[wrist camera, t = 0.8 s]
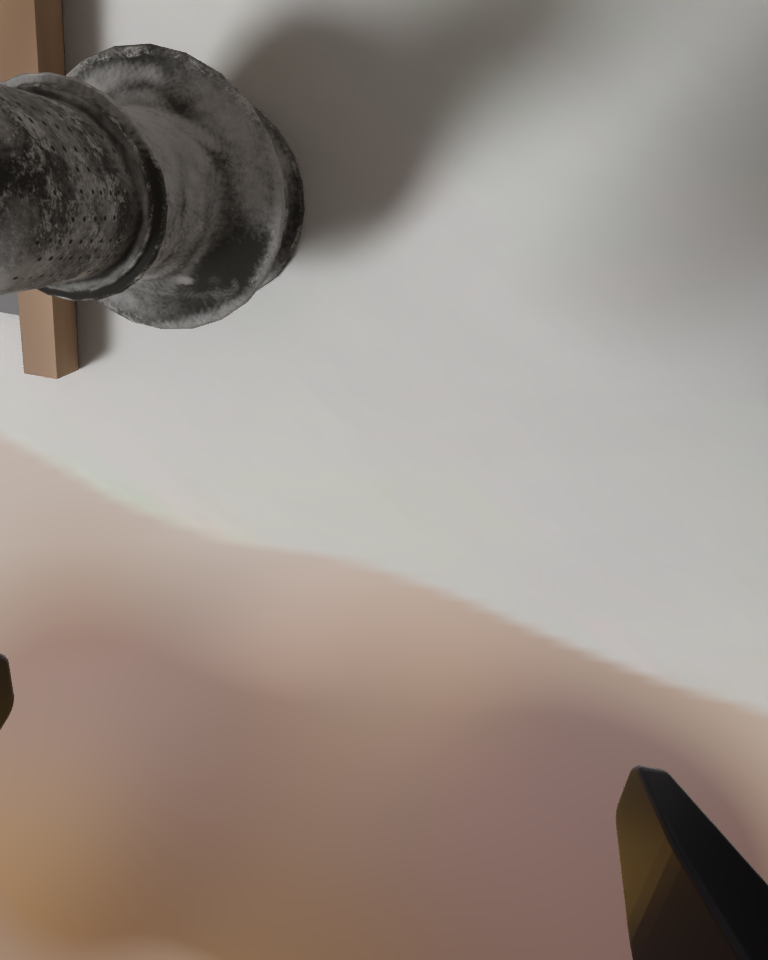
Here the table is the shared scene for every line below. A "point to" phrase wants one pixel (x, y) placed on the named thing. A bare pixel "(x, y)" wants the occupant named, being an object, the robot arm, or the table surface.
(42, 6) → the kerb
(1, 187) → the stone baluster finial
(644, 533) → the table surface
